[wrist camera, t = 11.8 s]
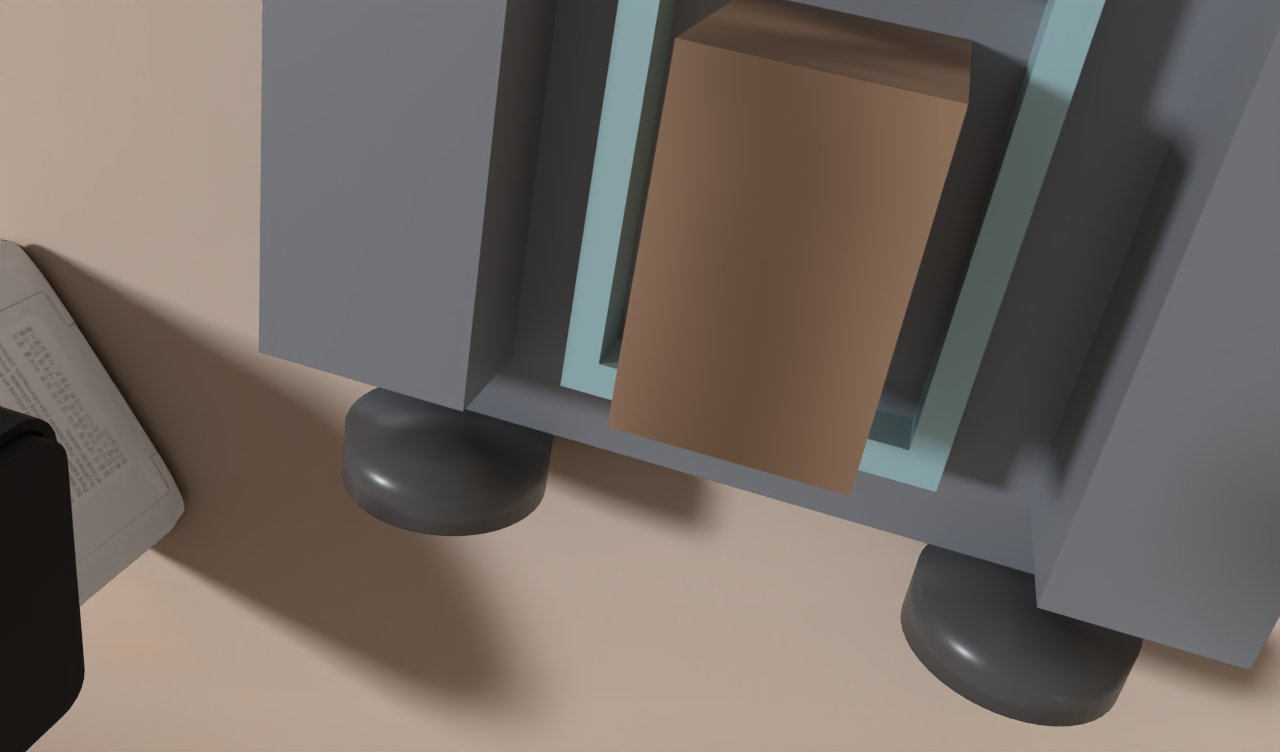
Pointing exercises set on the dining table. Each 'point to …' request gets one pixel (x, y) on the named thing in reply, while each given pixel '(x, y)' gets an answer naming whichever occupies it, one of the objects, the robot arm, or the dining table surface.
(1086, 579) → the chassis
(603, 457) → the dining table surface
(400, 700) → the dining table surface
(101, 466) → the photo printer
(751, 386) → the brown cardboard carton
